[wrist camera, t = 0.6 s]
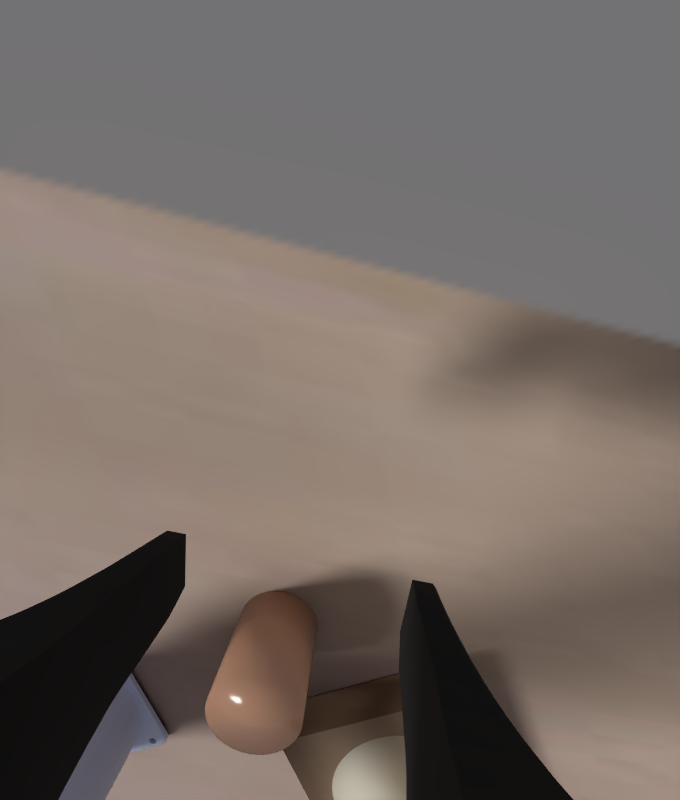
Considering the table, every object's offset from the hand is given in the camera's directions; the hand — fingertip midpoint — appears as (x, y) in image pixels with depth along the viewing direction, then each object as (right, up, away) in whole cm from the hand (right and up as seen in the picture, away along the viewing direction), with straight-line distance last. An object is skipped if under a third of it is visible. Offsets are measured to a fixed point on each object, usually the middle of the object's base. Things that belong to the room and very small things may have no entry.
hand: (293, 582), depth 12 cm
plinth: (+6, -18, +15) cm, 25 cm away
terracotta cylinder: (-3, -9, +14) cm, 16 cm away
